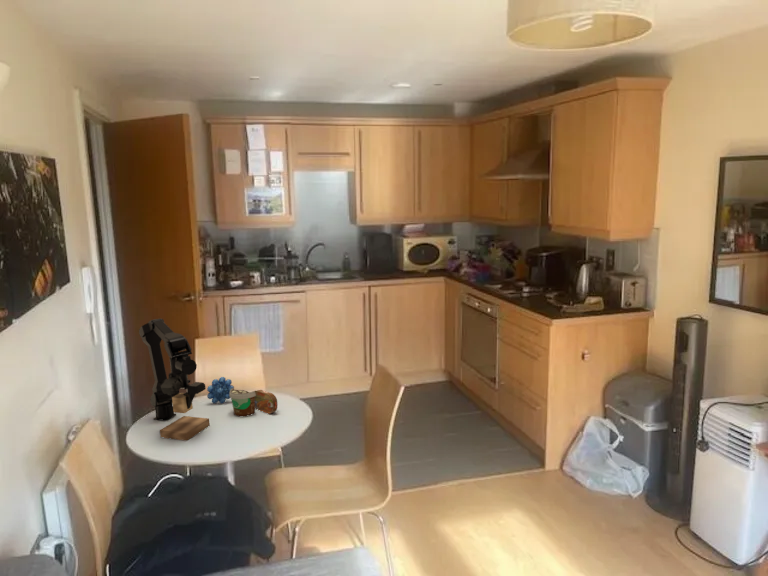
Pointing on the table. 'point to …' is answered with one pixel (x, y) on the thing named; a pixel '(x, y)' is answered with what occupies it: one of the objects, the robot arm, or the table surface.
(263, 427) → the table surface
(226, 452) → the table surface
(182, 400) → the oak block
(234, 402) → the food container
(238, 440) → the table surface
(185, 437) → the walnut board
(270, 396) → the tin
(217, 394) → the grapes
